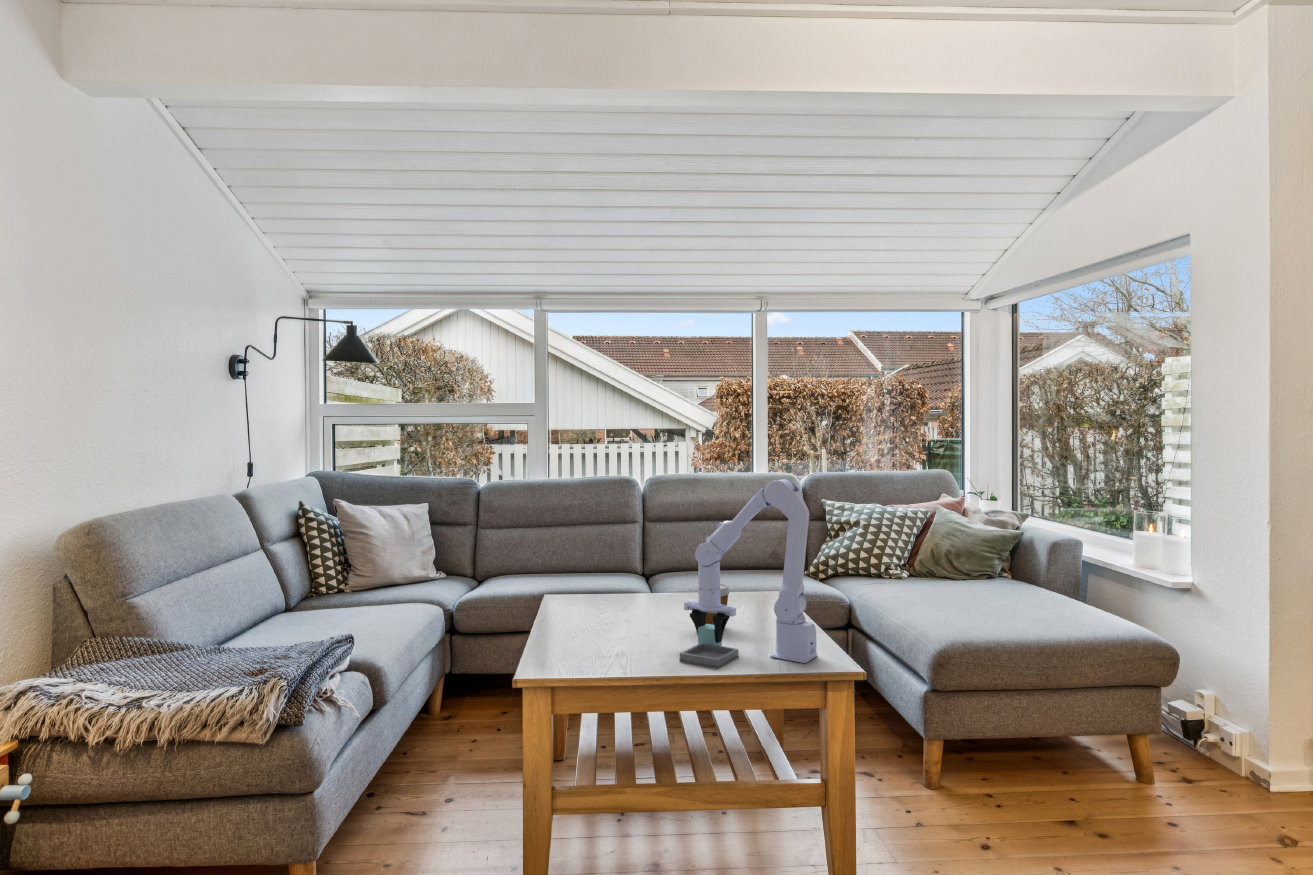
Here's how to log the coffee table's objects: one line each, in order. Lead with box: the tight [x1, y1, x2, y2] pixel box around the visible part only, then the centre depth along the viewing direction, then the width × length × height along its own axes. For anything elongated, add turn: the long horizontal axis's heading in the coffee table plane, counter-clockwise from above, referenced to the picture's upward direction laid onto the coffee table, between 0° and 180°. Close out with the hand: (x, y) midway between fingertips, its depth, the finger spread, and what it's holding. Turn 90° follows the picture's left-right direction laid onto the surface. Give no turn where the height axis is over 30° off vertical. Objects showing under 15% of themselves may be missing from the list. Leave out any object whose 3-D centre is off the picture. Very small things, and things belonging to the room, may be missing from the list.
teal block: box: [697, 624, 723, 646], centre depth 187 cm, size 4×4×5 cm
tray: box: [679, 643, 739, 669], centre depth 177 cm, size 11×11×2 cm
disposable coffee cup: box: [696, 583, 731, 625], centre depth 207 cm, size 10×10×12 cm
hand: (710, 640), depth 187 cm, fingers closed on teal block, 4 cm apart
